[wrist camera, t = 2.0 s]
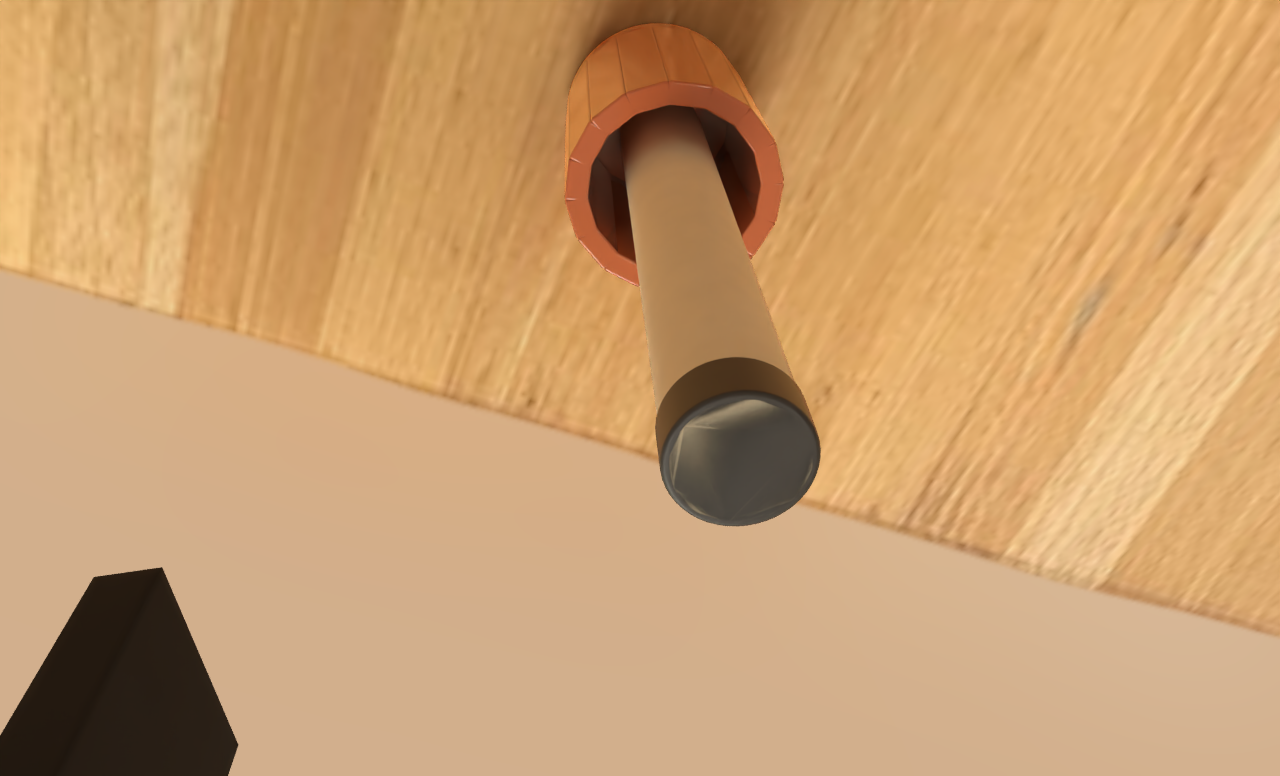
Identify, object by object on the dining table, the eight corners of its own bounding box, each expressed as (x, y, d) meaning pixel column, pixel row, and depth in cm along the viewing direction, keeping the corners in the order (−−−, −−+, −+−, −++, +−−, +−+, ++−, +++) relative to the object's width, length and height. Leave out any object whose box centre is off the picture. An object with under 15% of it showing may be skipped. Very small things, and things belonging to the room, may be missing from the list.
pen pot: (529, 99, 28) (520, 174, 23) (673, -17, 27) (698, 35, 22) (639, 232, 30) (653, 329, 25) (778, 128, 29) (823, 208, 24)
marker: (599, 112, 28) (626, 453, 14) (665, 60, 28) (762, 361, 14) (649, 175, 29) (721, 554, 15) (714, 126, 29) (852, 472, 15)
